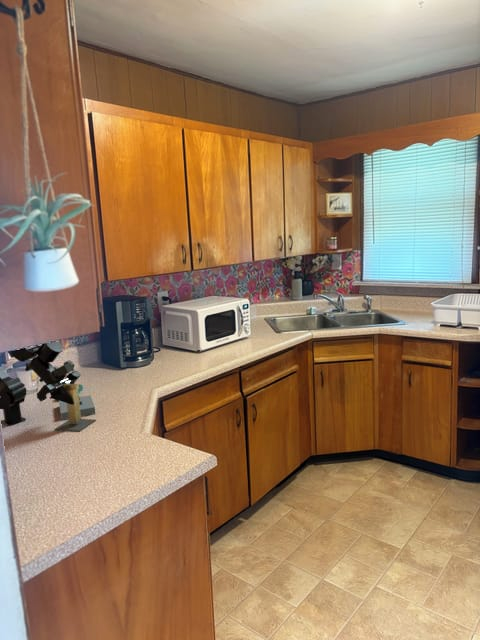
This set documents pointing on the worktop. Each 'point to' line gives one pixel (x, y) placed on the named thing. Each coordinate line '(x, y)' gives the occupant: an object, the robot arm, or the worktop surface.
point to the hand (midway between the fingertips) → (76, 402)
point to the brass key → (74, 409)
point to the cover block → (85, 407)
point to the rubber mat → (75, 425)
